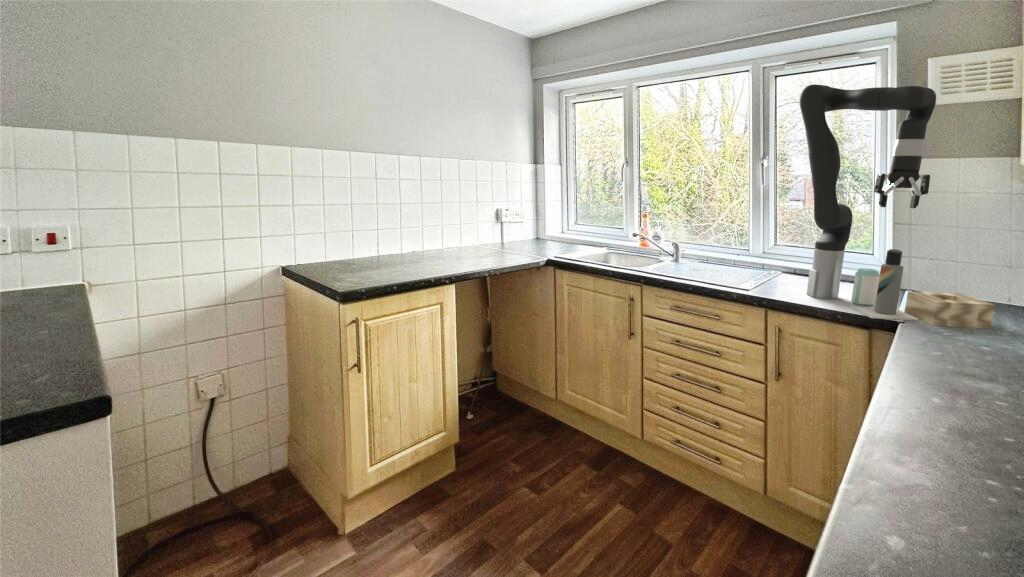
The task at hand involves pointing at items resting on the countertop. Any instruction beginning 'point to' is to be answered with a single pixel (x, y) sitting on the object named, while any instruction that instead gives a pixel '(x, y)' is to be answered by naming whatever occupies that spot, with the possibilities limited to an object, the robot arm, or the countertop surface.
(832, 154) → the robot arm
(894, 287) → the lotion bottle
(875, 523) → the countertop surface
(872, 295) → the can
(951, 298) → the pocket holder
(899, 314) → the grey mat
